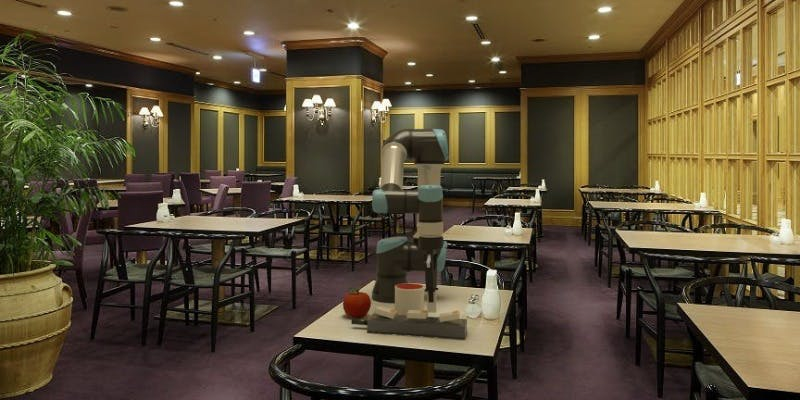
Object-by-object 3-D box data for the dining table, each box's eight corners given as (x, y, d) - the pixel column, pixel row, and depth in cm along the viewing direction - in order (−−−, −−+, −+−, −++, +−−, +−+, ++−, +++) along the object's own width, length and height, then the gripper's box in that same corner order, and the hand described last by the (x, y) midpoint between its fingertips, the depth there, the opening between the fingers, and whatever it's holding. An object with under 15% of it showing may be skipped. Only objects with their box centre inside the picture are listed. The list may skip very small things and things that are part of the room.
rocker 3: (441, 318, 181) (440, 313, 181) (460, 315, 180) (459, 310, 180) (440, 322, 178) (438, 316, 178) (459, 318, 176) (458, 313, 176)
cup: (421, 319, 195) (421, 290, 194) (391, 318, 197) (392, 288, 196) (425, 312, 205) (426, 284, 204) (398, 310, 207) (398, 282, 206)
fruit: (369, 320, 193) (369, 291, 193) (340, 320, 194) (340, 290, 193) (372, 313, 203) (372, 284, 202) (344, 312, 203) (345, 284, 203)
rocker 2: (409, 314, 183) (408, 309, 183) (428, 315, 182) (427, 310, 182) (406, 317, 180) (406, 312, 180) (426, 318, 178) (426, 313, 178)
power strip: (355, 324, 189) (355, 311, 189) (467, 331, 182) (467, 318, 182) (348, 331, 181) (348, 318, 181) (464, 339, 174) (465, 325, 174)
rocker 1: (377, 310, 185) (379, 305, 185) (395, 315, 184) (396, 310, 184) (374, 313, 182) (376, 307, 181) (393, 318, 181) (394, 313, 180)
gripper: (421, 233, 185) (422, 306, 187) (415, 238, 173) (416, 317, 174) (445, 233, 184) (446, 307, 185) (440, 238, 171) (441, 317, 173)
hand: (431, 311), depth 180 cm, fingers closed
